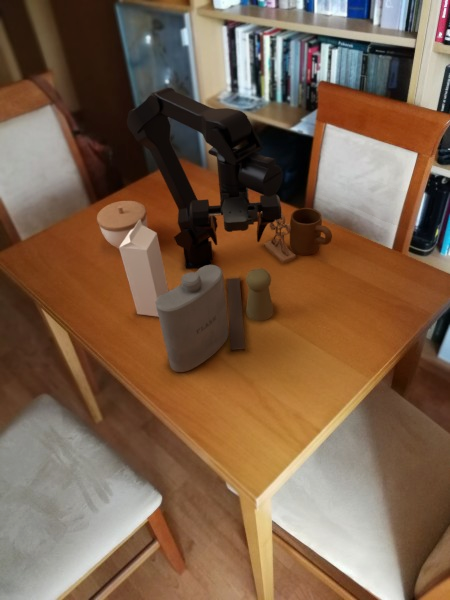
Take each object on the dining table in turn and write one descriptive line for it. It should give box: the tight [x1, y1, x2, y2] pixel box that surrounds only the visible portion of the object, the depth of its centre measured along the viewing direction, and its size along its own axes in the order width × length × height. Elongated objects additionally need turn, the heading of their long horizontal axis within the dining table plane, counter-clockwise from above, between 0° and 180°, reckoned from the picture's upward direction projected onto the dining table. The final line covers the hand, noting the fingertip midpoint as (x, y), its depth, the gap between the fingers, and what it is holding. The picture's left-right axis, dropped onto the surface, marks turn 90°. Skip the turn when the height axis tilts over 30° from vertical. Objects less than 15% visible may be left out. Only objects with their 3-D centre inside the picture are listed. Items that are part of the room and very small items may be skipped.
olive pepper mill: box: [245, 267, 274, 322], centre depth 102 cm, size 6×6×11 cm
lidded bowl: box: [96, 200, 149, 250], centre depth 124 cm, size 13×13×11 cm
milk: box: [118, 219, 170, 318], centre depth 101 cm, size 6×6×22 cm
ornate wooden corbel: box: [263, 210, 297, 264], centre depth 116 cm, size 9×4×12 cm, turn 30°
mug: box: [289, 207, 333, 256], centre depth 116 cm, size 12×8×9 cm, turn 39°
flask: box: [155, 264, 230, 373], centre depth 91 cm, size 15×6×20 cm, turn 136°
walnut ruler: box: [226, 277, 246, 352], centre depth 105 cm, size 3×22×1 cm, turn 2°
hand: (237, 242), depth 104 cm, fingers open, 9 cm apart
